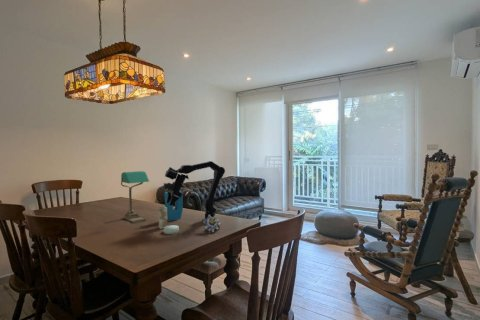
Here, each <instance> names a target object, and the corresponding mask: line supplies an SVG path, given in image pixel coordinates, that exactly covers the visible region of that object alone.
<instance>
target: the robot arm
mask: <svg viewBox="0 0 480 320" xmlns="http://www.w3.org/2000/svg"><path fill="white" fill-rule="evenodd" d="M207 168H210V169H211V170H213V179H212V181H211V185H210V188H209V191H208V193H207V196H206V197H204V198H203V199H202V202H201V204H202V205H201V206H202V208H203V210H204V211H205V213H204V218H205V220H206V218H207V217H208V215H210V216H212V217H214V216H216V212H217V209H216V208H215V207H214V203H215V202H214V199H215V196H216V195H215V194H216V192H217V189H218V187H219V183H220V180H221V179H222V178H223V177H224V174H225V172H226V170H225V167H223V166H220V165H218V164H216V163H215V162H214V161H212V160H211V161H206V162H202V163H201V162H200V163H197V164H196V163H195V164H183V165H181V166H180V168H178V169H175V168H173V167H171V166H170V167H168V169H167V170H166V171H165V174H164V177H165V178H167V179H170V180H173V182H172V183H171V182H164V183H163V189H164V190H165V189H166V192H167V193H168V197H167V203H169V202H170V204H169V205H170V206H171V205H172V204H173V205H174V204H175V202H176V201H177V200H178V199H180V198H181V196H182V197H183V192H182V193H180V191H181V189H182V188H183V185H184V184H185V180H186V179H187V180H190V178H189V175H188V174H190V173H193V172H195V171H198V170H203V169H207ZM179 197H180V198H179Z"/></svg>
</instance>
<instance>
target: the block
mask: <svg viewBox="0 0 480 320" xmlns="http://www.w3.org/2000/svg"><path fill="white" fill-rule="evenodd" d="M180 193H182V194H183V190H180ZM167 197H168V193H167V191H165V192H164V207H166V208H167V221H169V222H171V221H176V220H181V219H182V214H183V211H184V210H183V209H184V206H183V204H184V201H183V195H182V196H181V198H180V197H179V198H180V199H178V200H177V201H176V202H175V203H173V204H172V205H171V206H170V205H169V204H170V202H169V203H167ZM173 205H174V206H173Z"/></svg>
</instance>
